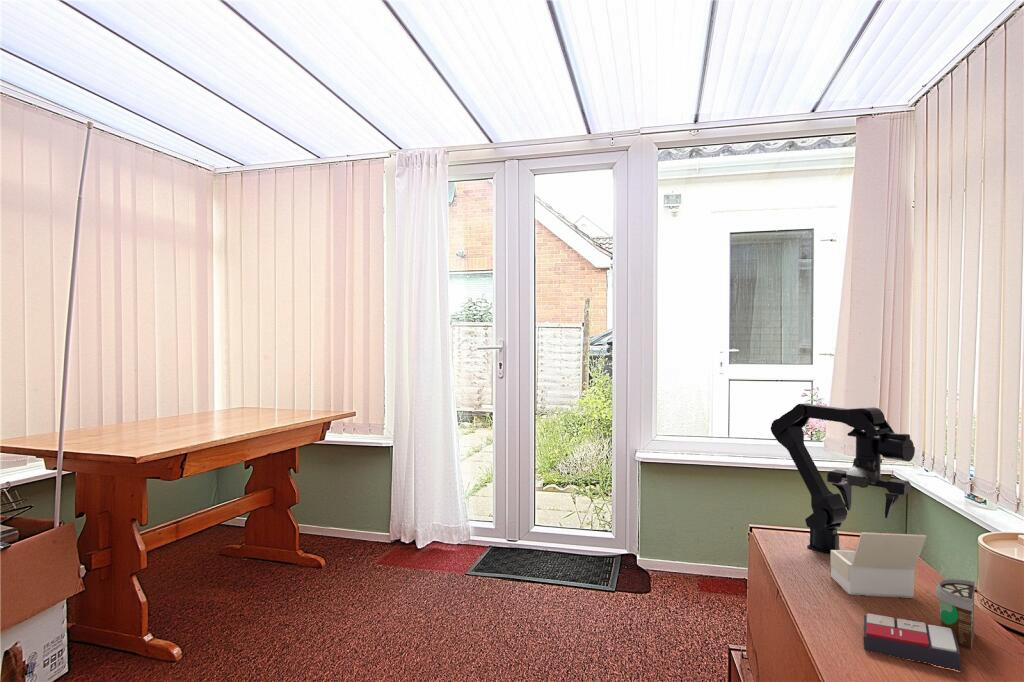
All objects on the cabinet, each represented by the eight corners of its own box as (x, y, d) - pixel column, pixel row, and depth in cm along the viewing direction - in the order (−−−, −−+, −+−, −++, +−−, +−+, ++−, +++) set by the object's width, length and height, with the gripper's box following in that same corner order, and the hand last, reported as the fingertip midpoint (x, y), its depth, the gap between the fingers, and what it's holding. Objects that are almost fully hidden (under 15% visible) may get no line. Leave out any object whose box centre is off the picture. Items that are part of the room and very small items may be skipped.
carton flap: (861, 532, 136) (862, 533, 136) (925, 535, 135) (926, 536, 135) (851, 564, 141) (852, 566, 140) (913, 567, 140) (914, 569, 139)
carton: (829, 578, 151) (830, 549, 151) (891, 581, 150) (892, 552, 150) (848, 594, 141) (848, 564, 141) (914, 598, 140) (915, 567, 140)
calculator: (864, 610, 125) (953, 625, 118) (864, 631, 125) (954, 647, 118) (863, 632, 116) (960, 649, 108) (864, 655, 116) (961, 674, 108)
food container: (937, 620, 129) (938, 573, 129) (973, 629, 125) (974, 580, 125) (931, 642, 119) (932, 591, 119) (970, 653, 115) (971, 600, 115)
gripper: (818, 453, 164) (817, 511, 164) (896, 464, 149) (895, 528, 149) (836, 448, 171) (835, 504, 171) (912, 459, 156) (911, 520, 156)
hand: (867, 513), depth 162 cm, fingers open, 9 cm apart
